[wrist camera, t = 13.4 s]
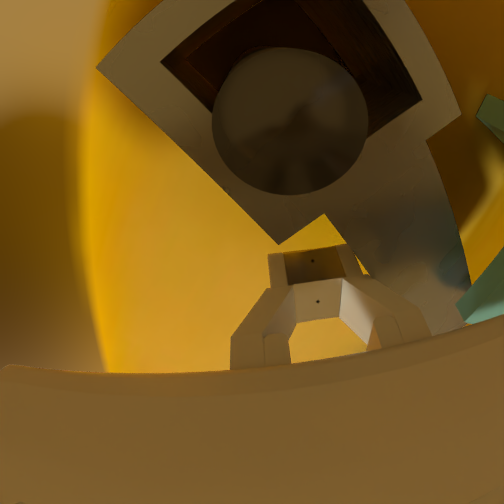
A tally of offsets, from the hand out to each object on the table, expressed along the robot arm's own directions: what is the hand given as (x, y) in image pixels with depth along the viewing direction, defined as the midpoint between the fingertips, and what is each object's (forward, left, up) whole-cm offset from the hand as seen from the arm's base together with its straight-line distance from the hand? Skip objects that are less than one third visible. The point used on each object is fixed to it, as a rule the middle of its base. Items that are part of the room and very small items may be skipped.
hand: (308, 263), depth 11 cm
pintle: (+1, -6, -2) cm, 6 cm away
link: (-2, -3, -2) cm, 4 cm away
